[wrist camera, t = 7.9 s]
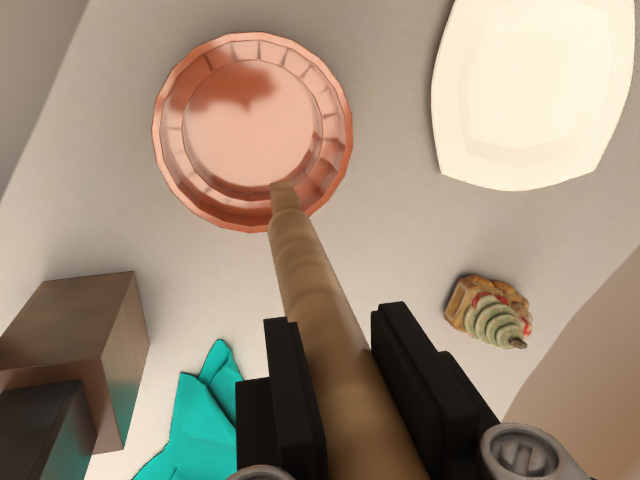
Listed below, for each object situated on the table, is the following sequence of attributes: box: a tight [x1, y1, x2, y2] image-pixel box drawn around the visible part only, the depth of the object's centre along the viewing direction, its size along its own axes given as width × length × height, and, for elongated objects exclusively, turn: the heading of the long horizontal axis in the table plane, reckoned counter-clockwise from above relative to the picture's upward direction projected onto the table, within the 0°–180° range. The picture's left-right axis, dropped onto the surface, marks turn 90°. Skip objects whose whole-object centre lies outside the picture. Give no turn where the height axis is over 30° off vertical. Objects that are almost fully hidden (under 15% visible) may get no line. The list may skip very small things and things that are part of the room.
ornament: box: [444, 275, 533, 349], centre depth 50 cm, size 8×6×10 cm
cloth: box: [133, 340, 243, 480], centre depth 54 cm, size 26×14×2 cm, turn 151°
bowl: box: [151, 31, 353, 233], centre depth 41 cm, size 15×15×6 cm
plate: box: [431, 0, 635, 191], centre depth 46 cm, size 19×19×2 cm
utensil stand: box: [0, 271, 150, 480], centre depth 37 cm, size 8×8×23 cm
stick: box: [268, 181, 431, 480], centre depth 15 cm, size 2×2×18 cm
